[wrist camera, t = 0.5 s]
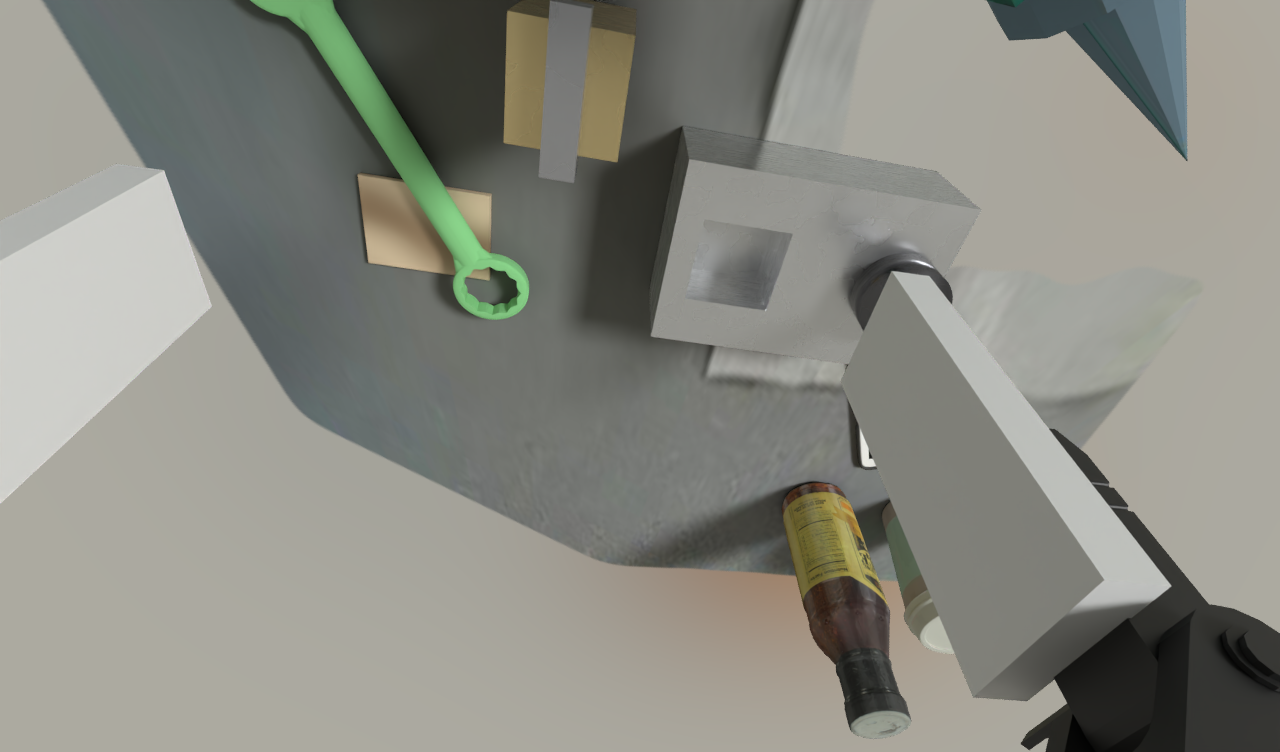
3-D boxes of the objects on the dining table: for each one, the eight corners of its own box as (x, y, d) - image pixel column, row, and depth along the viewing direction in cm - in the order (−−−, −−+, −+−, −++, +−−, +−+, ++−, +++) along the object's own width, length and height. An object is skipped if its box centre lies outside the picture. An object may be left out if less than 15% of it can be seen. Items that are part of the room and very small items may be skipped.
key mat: (360, 172, 36) (357, 174, 36) (491, 193, 37) (490, 196, 37) (370, 259, 40) (368, 262, 40) (490, 277, 41) (489, 280, 41)
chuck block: (682, 125, 35) (712, 272, 21) (937, 171, 36) (1127, 335, 22) (649, 288, 41) (654, 483, 27) (865, 320, 43) (976, 520, 29)
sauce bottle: (843, 518, 57) (921, 747, 41) (778, 523, 57) (830, 752, 42) (850, 472, 53) (938, 706, 37) (779, 478, 53) (837, 711, 38)
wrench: (293, -136, 28) (208, -80, 29) (272, -142, 26) (183, -83, 28) (545, 297, 41) (480, 324, 42) (542, 311, 40) (474, 338, 41)
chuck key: (549, -36, 30) (501, -10, 20) (638, -18, 30) (638, 18, 20) (541, 91, 34) (497, 170, 23) (621, 105, 34) (613, 189, 24)
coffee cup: (870, 545, 60) (914, 664, 50) (863, 491, 55) (910, 612, 45) (960, 528, 58) (1022, 648, 48) (960, 471, 53) (1030, 592, 43)
